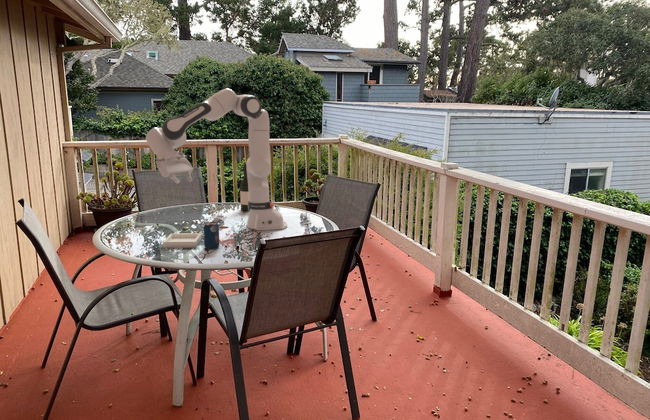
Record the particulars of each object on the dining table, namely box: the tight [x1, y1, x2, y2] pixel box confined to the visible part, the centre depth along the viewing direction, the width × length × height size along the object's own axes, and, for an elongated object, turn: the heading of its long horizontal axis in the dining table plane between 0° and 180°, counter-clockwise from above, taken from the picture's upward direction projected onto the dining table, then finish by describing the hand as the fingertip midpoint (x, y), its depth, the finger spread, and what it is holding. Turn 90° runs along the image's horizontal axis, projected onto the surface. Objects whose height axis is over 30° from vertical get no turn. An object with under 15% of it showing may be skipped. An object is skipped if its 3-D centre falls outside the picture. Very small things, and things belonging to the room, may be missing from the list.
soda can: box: [203, 221, 220, 251], centre depth 232 cm, size 7×7×12 cm
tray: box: [162, 232, 203, 249], centre depth 240 cm, size 15×15×3 cm
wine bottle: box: [239, 162, 249, 212], centre depth 311 cm, size 8×8×30 cm
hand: (184, 181), depth 235 cm, fingers open, 8 cm apart
